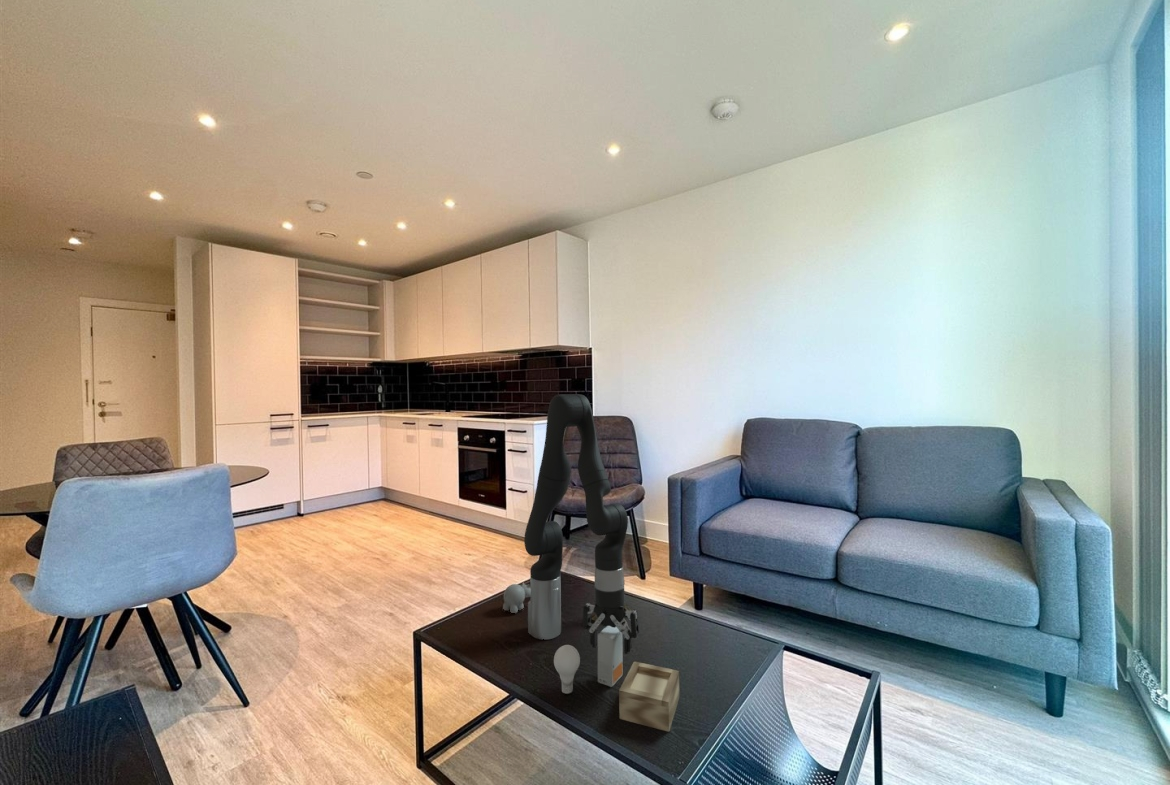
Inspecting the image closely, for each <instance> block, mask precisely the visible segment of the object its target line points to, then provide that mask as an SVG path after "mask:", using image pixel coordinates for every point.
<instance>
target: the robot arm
mask: <svg viewBox="0 0 1170 785" xmlns="http://www.w3.org/2000/svg"><path fill="white" fill-rule="evenodd" d="M595 424H596V423H595V420H594V415H593V410H592V406H591V403H590V401H589V399H588V398H587V396H585V395H584V394H579V393H576V394H575V393H574V394H573V393H570V394H569V393H566V394H564V393H563V394H561V393H560V394H556V395H554V396H553V397H552V398H551V400H550V402H549V405H548V410H547V418H546V429H545V438H544V439H545V440H544V446H543V452H542V458H541V462H540V467H539V471H538V476H537V482H536V483H537V484H536V489H535V493H534V500H533V503H532V506H531V512H530V514H529V517H528V521H527V524H526V527H525V532H524V539H523V540H524V542H523V543H524V547H525V550H526V553H527V554H528V555H530V556H531V557H537V556H541V557H540V558H539V559H538V560H537V561H536V562H535V563H533V564H532V565H531V567H530V572H529V574H530V575H529V576H530V584H529V587H531V596H530V600H529V601H528V602H527V629H528V630H527V633H529V634H528V635H531V636H532V637H533V638H535V639H537V640H543V639H544V640H545V641H546V640H551V639H554V638H557V637H559V635H561V632H562V608H561V607H562V599H561V598H562V596H561V595H562V592H561V590H562V589H561V588H562V587H561V580H562V579H561V569H562V568H563V567H562V566H563V549H564V535H563V531H562V526H561V525H560V524H559V522H557V521H554V520H549V521H548V519H549V517H550V515H551V514H552V513H553V511H554V510H555V509H556V507H557V506H558V505H559V504H560V503H561V501H562V500H563V498H564V497H565V495H566V493H567V491H568V489H569V484H570V480H571V474H572V465H571V463H570V459H569V457H568V455H567V453H566V450H565V446H564V436H565V432H566V429H567V428H573V427H576V428H577V431H578V433H579V436H580V449H579V454H578V459H577V460H578V461H577V472H578V476H579V480H580V482H581V485H582V489H583V491H584V495H585V496H584V497H585V511H586V512H585V513H586V521H587V522H586V523H587V525H588V528H589V530H590V531H591V532H592V533H593V534H594V535H596V536H600V537H601V536H605V537H604V538H603V539H602V540H600V542H598V543H597V544H596V545H595V547H594V602H595V604H592V603H591V602H589V601H588V602H587V603H585V605H584V606H583V609H582V611H583V612H582V613H583V614H582V629H584V630H587V631H589V640H590V641H589V642H590V645H591V646H592V648H594V649H597V648H598V634H599V632H598V629H597V628H599V626H600V624H602V625H603V626H604V627H607V626H611V627H617V628H618V630H619V631H620V632H622V636H623V637H624V638H623V646H624V647H623V649H624V653H623V654H624V655H625V654H626V655H628V654H630V652H631V650H632V648H633V646H632V645H633V644H632V643H633V642H632V639H637V637H638V635H639V633H640V628H639V616H638V615H639V614H638V610H637V609H636V608H634V609H632V610H631V611H629V610H626V608H625V603H626V602H625V601H626V600H625V599H626V598H625V584H626V583H625V582H626V581H625V575H624V574H625V572H624V564H623V563H624V562H623V550H624V545H625V542H626V537H627V532H628V526H629V519H628V518H629V517H628V513H627V511H626V509H625V507H624V506H623V505H621V504H619V503H610V504H606V505H604V497H605V496H607V495H609V494H610V493H611V492H612V491H611V490H612V487H611V484H610V480H609V478H608V474H607V472H606V468H605V466H604V463H603V459H602V455H601V453H600V447H599V442H598V436H597V428H596V426H595ZM592 613H594V615H595V614H596V616H597V617H598V619H597V620H596V621H595V620H594V623H592V619H591V618H592ZM625 617H627V619H628V620H629V621H630V627H629V625H628V621H627V620H626V619H625ZM621 624H622V625H621Z"/></svg>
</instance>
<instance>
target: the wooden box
mask: <svg viewBox="0 0 1170 785" xmlns="http://www.w3.org/2000/svg"><path fill="white" fill-rule="evenodd" d="M618 692H619V693H618V695H619V696H618V698H619V700H618V702H619V704H618V707H619V708H618V710H619V719H620V720H623V721H627V722H629V723H635V724H638V725H642V726H645V727H649V728H654V729H657V730H661V731H664V732H667V733H668V732H670V730H671V728H672V724H673V721H674V718H675V713H676V711H677V706H678V705H679V704H678V703H679V700H680V670H677V669H673V668H672V669H671V668H668V667H664V666H658V665H654V664H648V663H643V662H639V661H633V663H632V665H631V666H630V669H629V670H628V672H627V675H626V676H625V678H624V680H623V682H622V684H621V686H620V688H619V690H618Z"/></svg>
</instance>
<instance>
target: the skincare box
mask: <svg viewBox="0 0 1170 785" xmlns="http://www.w3.org/2000/svg"><path fill="white" fill-rule="evenodd" d="M623 646H624V643H623V634H622V632H620V631H619V630H618V628H617V627H611V626H605V627H604V628H603V629H602V630H601V631H600V632H598V645H597V682H598V683H599V684H602V685H605V686H608V687H610V688H613V687H614V686H615V684H616V683H617V682H618V681H619V680H620V679H621V677H623V675H624V674H623V673H624V671H623V667H624V666H623V663H624V662H623V659H624V658H623V654H624V653H623V649H624V647H623Z"/></svg>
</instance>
